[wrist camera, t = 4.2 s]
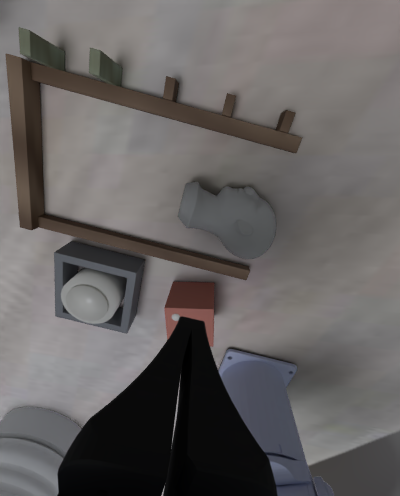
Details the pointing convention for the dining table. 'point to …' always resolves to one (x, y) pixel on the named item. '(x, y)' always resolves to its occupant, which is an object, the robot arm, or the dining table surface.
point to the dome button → (93, 295)
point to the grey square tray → (105, 262)
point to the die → (191, 305)
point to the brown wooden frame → (101, 66)
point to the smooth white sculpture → (230, 218)
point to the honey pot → (33, 450)
